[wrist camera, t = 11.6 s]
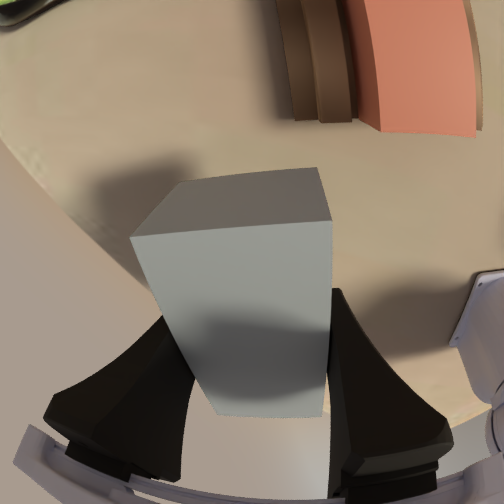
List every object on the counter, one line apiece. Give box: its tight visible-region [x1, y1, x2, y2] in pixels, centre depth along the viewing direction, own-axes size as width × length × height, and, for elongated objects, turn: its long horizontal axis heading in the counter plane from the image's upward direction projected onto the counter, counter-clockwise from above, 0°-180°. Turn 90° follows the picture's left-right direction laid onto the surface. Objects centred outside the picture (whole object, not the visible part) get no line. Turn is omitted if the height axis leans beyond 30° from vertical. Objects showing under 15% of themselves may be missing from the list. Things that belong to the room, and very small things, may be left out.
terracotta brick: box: [342, 0, 476, 138], centre depth 8 cm, size 11×5×4 cm, turn 9°
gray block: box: [129, 167, 332, 418], centre depth 11 cm, size 10×5×4 cm, turn 9°
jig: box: [276, 0, 483, 131], centre depth 10 cm, size 11×12×2 cm
